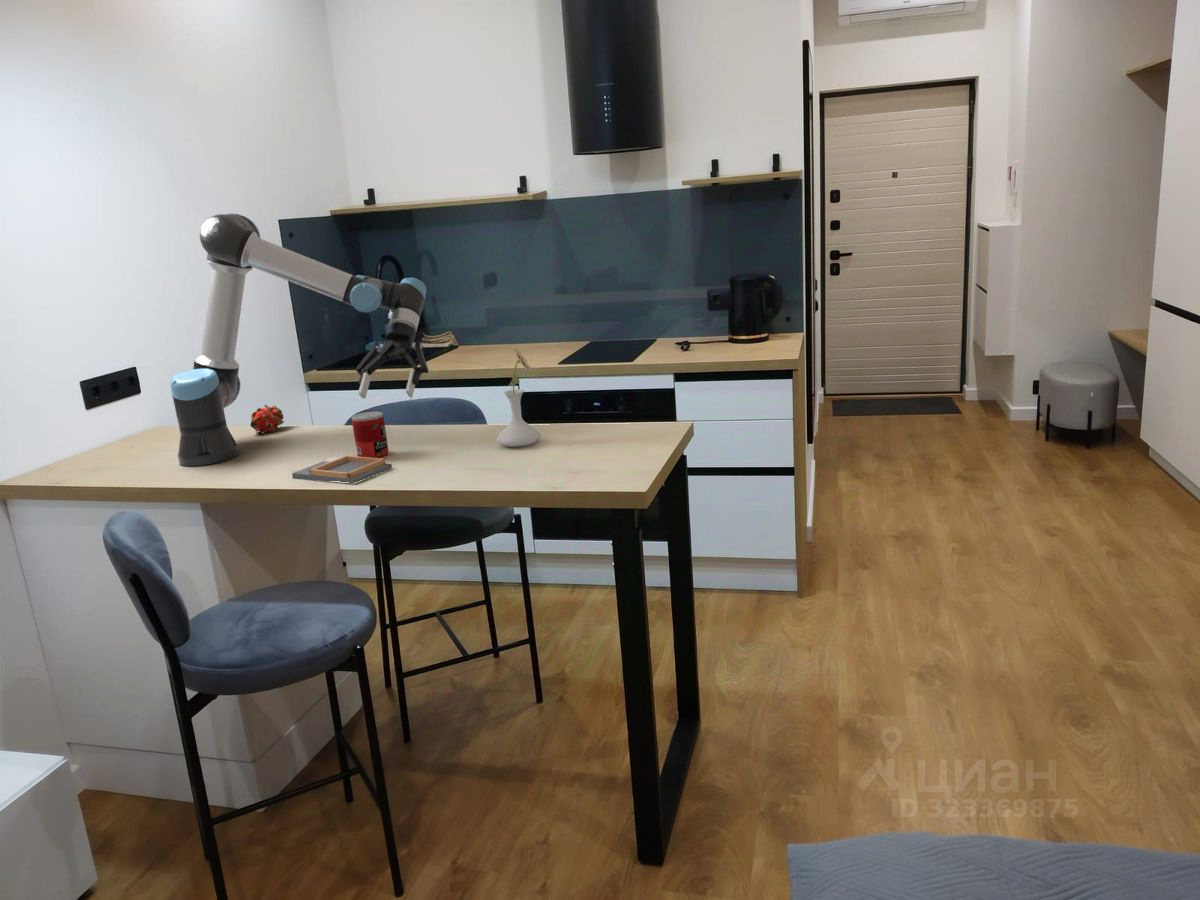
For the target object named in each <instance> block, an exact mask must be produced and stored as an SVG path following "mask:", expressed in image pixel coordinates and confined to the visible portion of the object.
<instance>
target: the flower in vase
mask: <svg viewBox="0 0 1200 900" xmlns="http://www.w3.org/2000/svg"><path fill="white" fill-rule="evenodd" d="M512 349H513V352H514V353H515V356H516V357H517V362H516V363H515V367H514V369H513V372H512V379H511V380H510V382H509V384H508V386H510V387H512V389H511V390H510V389H509V390H505V391H504V392H503V394H504V395H505V396H506V397H507V399H508V401H509V404H510V408H511V409H510V410H511V421H510V422H509V423H508V424H507V426H506V427H504V428H503V430H501V431H500V432H499V434H497V437H496V442H497V443H498V444H499V445H500V446H504V447H508V448H509V447H510V448H513V447H514V448H515V447H516V448H517V447H525V446H529V445H532V444H535V443H536V442H538V441H540V439H541V438H542V435H541V433H540V432H539V431H538V430H537V429H536V428H535V427H534V426H533V425H530V424H529V423H528V422H526V421H525V420H524V419H523V418H522V414H521V399H522V395H523V394H524V389H515V386H516V385H518V384H520V383H521V382H520V381H521V380H520V379H519V377H518V376H517V375H516V374H515V373H516V369H517V367H518V364H519V363H521V365H522V366H523V368H524V369H525V370H526V371H527V372H528V373H529V372H532V367H531V366H530V365H529V363H528V360H527V358H526V357H524V356H523V353H522V351H521V350H518V347H517V345H512Z"/></svg>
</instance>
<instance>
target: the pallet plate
mask: <svg viewBox="0 0 1200 900" xmlns="http://www.w3.org/2000/svg"><path fill="white" fill-rule="evenodd" d="M391 468H392V469H393V466H392V463H387V462H386V458H382V459H381V458H370V457H358V456H357V455H356V456H355V455H344V456H341V457H330V458H327V459H324V460H322V461H321V462H318V463H316V464H312V465H310V466H307V467H305V468H302V469H299V470H297V471H294V472H292V473H291V474H292V475H291V476H292V478H293V479H299V480H307V479H309V481H317V480H324V481H323V482H326V481H340V482H349V483H355V482H358V481H360V480H363V479H366V478H368V477H371V476H373V475H375V476H377V475H376V474H378V475H380V474H382V473H381V472H383V473H385V472H387V471H389V470H388V469H390V470H391ZM386 470H387V471H386ZM384 471H385V472H384ZM379 473H380V474H379ZM373 477H374V476H373ZM371 478H372V477H371ZM368 479H369V478H368ZM366 480H367V479H366Z"/></svg>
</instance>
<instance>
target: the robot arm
mask: <svg viewBox="0 0 1200 900" xmlns="http://www.w3.org/2000/svg"><path fill="white" fill-rule="evenodd" d="M199 241H200V244H201V246H202V248H203V249H204V251H205V252H206V253H207V255H206V262H207V263H208V264H209V266H210V268H211V271H210V272H211V273H210V281H209V289H208V297H207V304H206V312H205V320H204V321H205V322H204V329H203V335H202V344H201V353H200V354H199V355H197V357H195V358H194V360H193V367H192V369H189V370H185V371H184V372H180V373H178V374H176V375H174V376H173V377H172V378H171V380H170V392H171V395H172V400H173V405H174V408H175V409H174V410H175V413H176V414H175V415H176V418H177V423H178V428H179V433H180V436H179V438H180V439H179V444H178V445H179V446H178V453H177V458H178V464H179V465H180V466H185V467H199V466H205V465H206V466H208V465H212V463H213V464H218V463H221V462H225V461H229V460H231V459H233V458H236V457H238V456H239V455H240V451H239V445H238V444H237V442H236V440H235V439H234V436H233V435H232V433H231V432H230V429H229V427H228V425H227V421H226V414H225V408H227V407H229V406H231V405H232V404H233V403H234V402H235V401H236V399H237V397H238V396H239V394H240V391H241V380H240V377H239V371H240V370H239V369H240V365H239V363H238V362H237V360H236V359H235V358H236V357H235V356H236V350H237V349H236V348H237V342H238V334H239V327H240V326H239V325H240V321H241V319H240V318H241V311H242V305H243V296H244V291H245V284H246V283H245V281H246V275H247V274H248V273H249V272H250V271H252V270H253V268H255V269H257V270H259V271H262V272H265V273H266V274H269V275H272V276H275V277H277V278H279V279H282V280H285V281H288V282H290V283H292V284H296V285H299V286H301V287H303V288H306V289H308V290H311V291H314V292H316V293H319V294H322V295H324V296H327V297H330V298H332V299H335V300H338V301H340V302H342V303H344V304H346V305H348V306H349V305H350V306H352V307H353V308H354V309H355V310H357V311H358V312H361V313H370V312H371V313H372V312H374V311H376V310H377V309H378V308H380V309H381V308H382V309H386V310H389V311H392V313H391V316H390V319H389V322H388V323H389V324H388V327H387V331H386V335H385V342H383V344H382V343H378V341H374V342H373V343H372V344H373V345H372V347H371V349H370V350H369V351H368V352H367V354H366V355H365V356H364V357H363V358H362V360H361V361H360V362H359V364H358V365H357V366H356V367H355V371H356V372H357V374H358V375H359V380H358V384H359V385H360V386H359V389H358V392H357V394H358V395H359V396H360V397H361V399H366V397H367V393H368V390H369V387H370V382H371V379H372V377H371V375H372V374H374V372H376V371H377V370H378V369H379V368H380V367H381V366H383V364H384V363H386V362H387V363H388V362H389V361H390V360H402V359H404V358H405V359H406V360H407V362H408V363H409V365H410V366H411V367H412V369H411V370H410V372H409V375H408V381H407V383H406V388H405V393H406V394H407V396H408V397H409V398H413V396H414V395H413V394H414V391H415V388H416V386H417V385H418V384H419V382H420V379H421V375H422V374H428V373H429V371H430V370H429V368H428V364H427V362H426V358H425V355H424V345H423V343H422V342H421V341H420V340H419V339H417V340H416V341H415V339H416V335H417V330H418V326H419V323H420V318H421V315H422V312H423V308H424V305H425V301H426V300H425V299H426V295H427V287H426V285H425V284H424V282H423V281H422V280H420V279H418V278H415V277H404V278H403V279H402V280H401V281H400V283H397V282H391V281H386V280H384V279H383V280H382V279H380V278H375V277H371V276H369V275H360V274H358V275H353V274H351V273H348V272H345V271H344V270H340V269H338V268H336V267H333V266H330V265H328V264H325V263H324V262H321V261H318V260H316V259H313V258H310V257H308V256H305V255H303V254H300V253H298V252H296V251H293V250H291V249H288V248H285V247H284V246H280V245H278V244H275V243H272V242H270V241H267V240H266V239H263V238H261V233H260V229H259V228H258V226H257V225H256V223H254V221H253V220H251V219H250V218H248V217H247V216H245V215H242V214H238V213H234V212H233V213H226V214H225V213H224V214H223V213H221V214H215V215H212V216H210V217H208V218H207V219H206V220H205V221H204V222H203V223H202V225H201V227H200V231H199ZM413 350H414V351H415V354H416V355H417V356H416V357H417V360H418V363H419V366H418V365H417V364H416V362H415V361H414V359H413V358H412V357H411V355H410V354H409V353H410V352H411V351H413ZM207 464H208V465H207Z"/></svg>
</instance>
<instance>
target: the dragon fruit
mask: <svg viewBox="0 0 1200 900" xmlns="http://www.w3.org/2000/svg"><path fill="white" fill-rule="evenodd" d="M250 418H251V422H250V425H249V426H250V427H252V428H253V430H255V432H256V435H258V433H260V434H263V433H262V432H265V433H267V432H269V431H270V432H271V433H274V432H275V431H276V430H278V426H281V425H283V423H285V421H284V414H283V411H282V409H280V408H279V407H277V405H272V406H271V407H270V406H268V405H267V404H265V405H264V407H263V408H261V407H258V408H257V409H256V411H253V412H252V413H251V417H250ZM273 431H274V432H273Z"/></svg>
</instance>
